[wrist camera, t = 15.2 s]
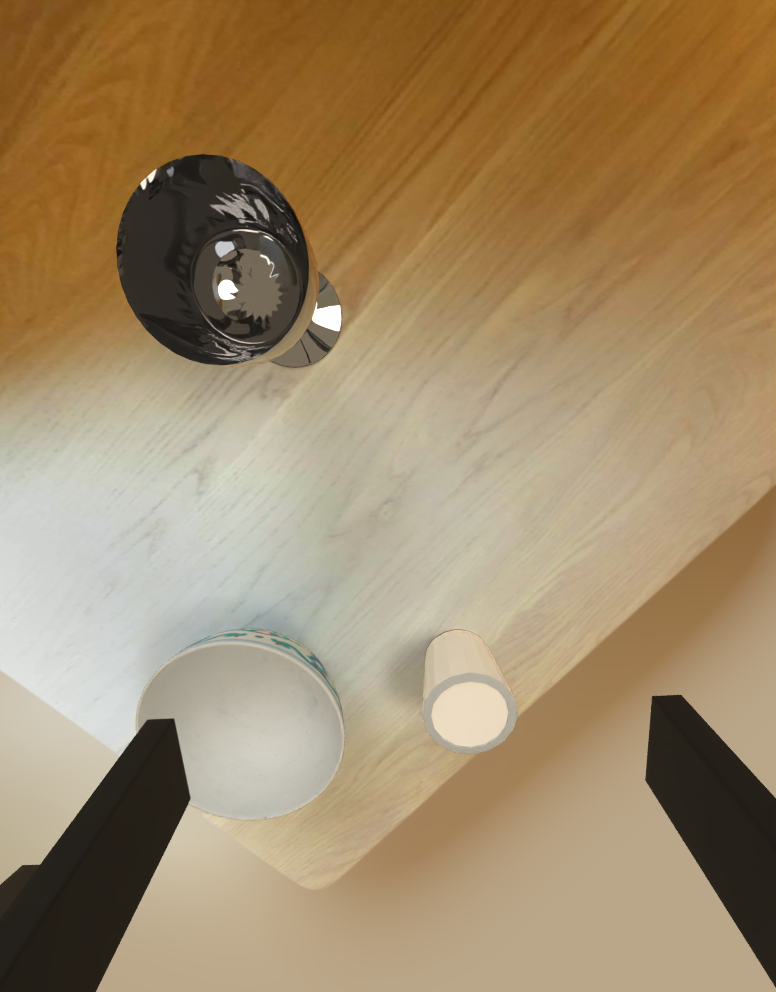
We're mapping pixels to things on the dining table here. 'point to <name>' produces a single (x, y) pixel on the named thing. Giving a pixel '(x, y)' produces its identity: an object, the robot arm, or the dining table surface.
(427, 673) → the shot glass
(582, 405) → the dining table surface
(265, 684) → the chinaware
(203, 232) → the wine glass
